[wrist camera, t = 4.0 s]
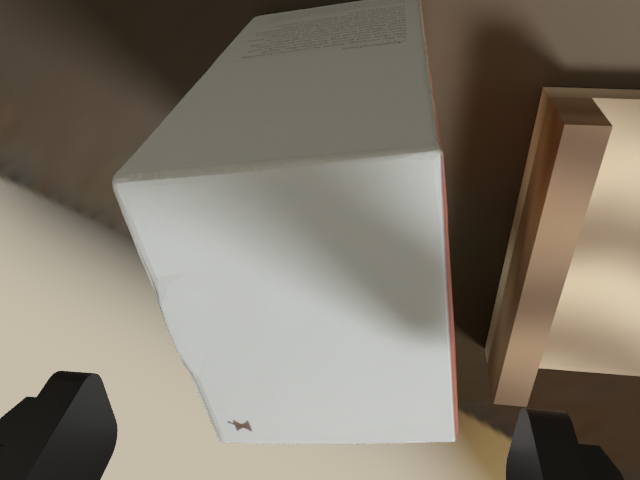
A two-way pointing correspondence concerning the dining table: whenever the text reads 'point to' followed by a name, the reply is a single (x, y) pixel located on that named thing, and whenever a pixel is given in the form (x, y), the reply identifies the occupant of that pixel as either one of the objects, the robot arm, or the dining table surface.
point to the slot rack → (572, 246)
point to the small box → (306, 231)
